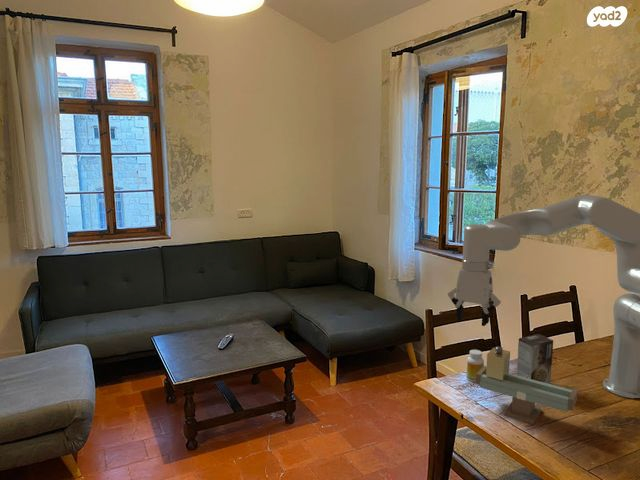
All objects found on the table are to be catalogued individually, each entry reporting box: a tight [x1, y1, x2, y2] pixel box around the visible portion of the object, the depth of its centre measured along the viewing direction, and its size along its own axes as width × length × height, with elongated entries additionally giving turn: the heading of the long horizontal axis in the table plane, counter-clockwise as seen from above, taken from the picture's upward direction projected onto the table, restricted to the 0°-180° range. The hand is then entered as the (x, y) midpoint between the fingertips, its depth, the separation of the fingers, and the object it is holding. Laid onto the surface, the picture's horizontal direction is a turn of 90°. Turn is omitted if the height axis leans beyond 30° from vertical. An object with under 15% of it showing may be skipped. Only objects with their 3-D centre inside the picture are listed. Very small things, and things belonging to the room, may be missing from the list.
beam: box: [475, 365, 579, 425], centre depth 142 cm, size 26×9×10 cm, turn 53°
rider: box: [485, 345, 511, 381], centre depth 145 cm, size 5×6×10 cm
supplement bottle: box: [466, 349, 485, 383], centre depth 163 cm, size 5×5×10 cm
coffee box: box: [515, 333, 554, 384], centre depth 158 cm, size 9×6×16 cm
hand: (472, 321), depth 148 cm, fingers open, 6 cm apart
